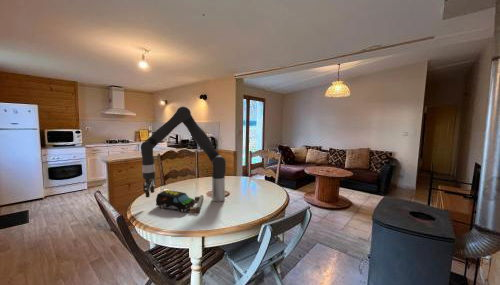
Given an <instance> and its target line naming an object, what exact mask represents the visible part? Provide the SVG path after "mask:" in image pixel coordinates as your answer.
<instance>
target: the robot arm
mask: <svg viewBox="0 0 500 285" xmlns="http://www.w3.org/2000/svg"><path fill="white" fill-rule="evenodd" d="M191 113H192V112H191V110H190V109H189V107H188V106H180V107H179V108H177V110H176V111H175V113H174V114H173V115H172V116H171V117H170V119H168V120H167V121H166V122H165V123H164V124H163V125H161V126H160V127H159V128H158V129H156V130H155V131H154V132H153V133H152V135H151V136H149V137H148V138H147V139H146V140H144V141H143V142H142V143H141V145H140V152H141V154H140V155H141V159H142V162H141V163H142V165H141V166H142V168H141V170H142V171H141V172H142V179H143V180H145V181H144V182H143V183H142V185H143V193H145V198H150V197H151V196H150V195H151V193H152V194H154V193H155V186H156V166H155V156H154V148H156V146H157V145H158V144H159V143H161V142H162V141H163V140H165V138H167V136H169V134H171V133H172V132H173V131H174V129H176V128H177V127H178V126H180V124H183V125H184V126H185V127H186V128H187V130H188V132H189V134H190V135H191V137H192V139H193V140H194V142H195V143H196V144H197V145H198V147H199V148H200V149H201V150H202V152H204V153H205V154H206V155H207V157H208V159H209V161H210V163H211V164H212V174H211V176H212V177H211V182H212V183H211V186H212V188H211V189H212V190H211V192H212V193H211V194H212V195H211V200H212V201H213V202H215V203H217V202H219V203H221V202H225V201H226V200H225V199H226V194H225V193H226V182H225V180H226V167H227V166H226V158H224V157H223V156H222V155H221V154H220V153H219V152H218V151H217V150H216V148H215V147H214V144H213V142H212V141H211V139H210V137H209V136H208V135H207V133H206V131H204V129H203V128H202V127H201V126H200V125H199V124H198V123H197V121H196V120H195V119H194V118H193V115H192V114H191Z"/></svg>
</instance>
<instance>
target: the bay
mask: <svg viewBox="0 0 500 285" xmlns="http://www.w3.org/2000/svg"><path fill="white" fill-rule="evenodd" d="M194 200H195V201H198V202H197V204H196V206H193V207H190V209H189V213H190V214H200V213H201V209H202V205H203V203H204V195H203V194H201V195H200V196H194Z"/></svg>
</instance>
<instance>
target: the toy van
mask: <svg viewBox="0 0 500 285" xmlns="http://www.w3.org/2000/svg"><path fill="white" fill-rule="evenodd" d="M155 203H156V204H155V206H158V207H159V209H163V210H164V209H165V208H166V209H172V210H178V211H179V213H180V214H181V213H182V214H185V212H186V211H187V212H188V210H190V207H195V198H192V197H189V195H188V194H187V193H186V192H182V191H176V190H170V189H169V190H167V189H166V190H163V191H161V192H159V193H157V194H156V198H155Z"/></svg>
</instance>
